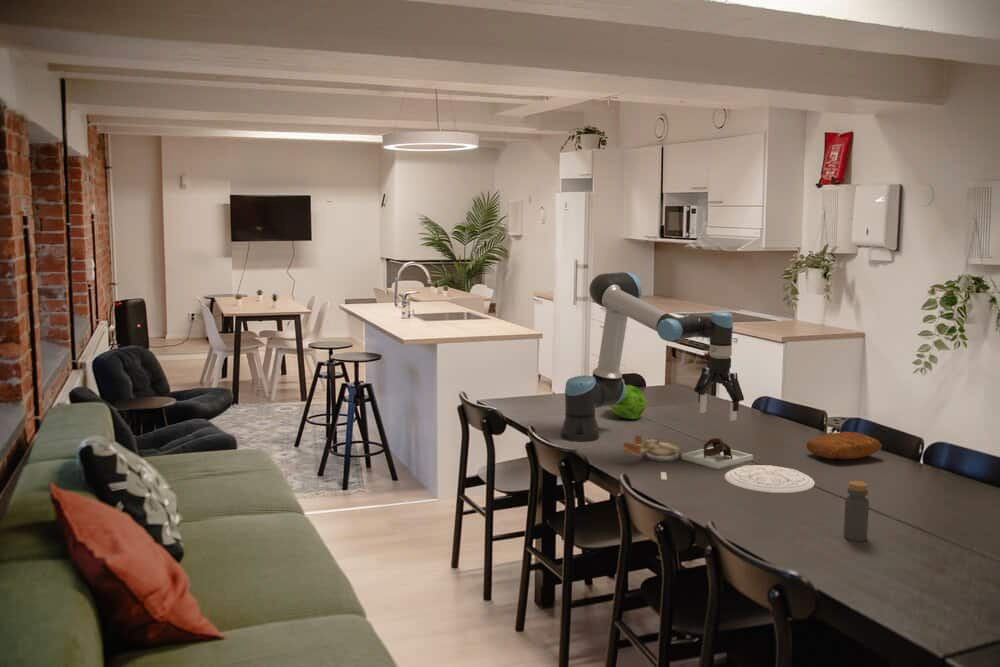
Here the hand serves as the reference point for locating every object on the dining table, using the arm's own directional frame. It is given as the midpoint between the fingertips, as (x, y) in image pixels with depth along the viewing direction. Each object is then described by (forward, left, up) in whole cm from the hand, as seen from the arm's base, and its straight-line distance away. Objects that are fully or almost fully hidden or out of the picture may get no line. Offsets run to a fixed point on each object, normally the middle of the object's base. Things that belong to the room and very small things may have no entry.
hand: (717, 416), depth 313 cm
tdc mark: (+3, -30, -16) cm, 34 cm away
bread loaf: (+25, +38, -16) cm, 48 cm away
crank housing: (-14, -13, -16) cm, 25 cm away
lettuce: (-70, +22, -16) cm, 75 cm away
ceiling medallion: (+26, -5, -16) cm, 31 cm away
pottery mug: (0, +1, -15) cm, 15 cm away
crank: (-14, -18, -13) cm, 26 cm away
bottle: (+73, -30, -16) cm, 81 cm away
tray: (0, 0, -16) cm, 16 cm away
